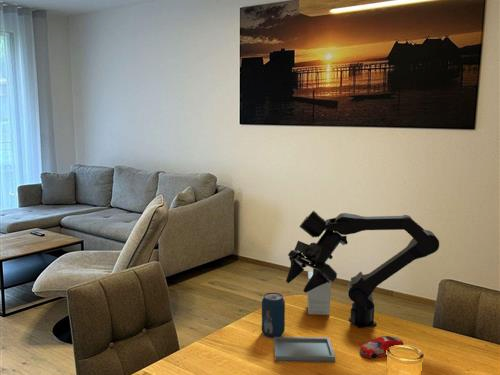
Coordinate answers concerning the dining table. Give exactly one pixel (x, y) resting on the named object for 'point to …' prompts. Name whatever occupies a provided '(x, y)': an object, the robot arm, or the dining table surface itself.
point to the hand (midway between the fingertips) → (295, 286)
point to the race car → (379, 346)
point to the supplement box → (319, 298)
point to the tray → (303, 349)
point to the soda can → (273, 315)
